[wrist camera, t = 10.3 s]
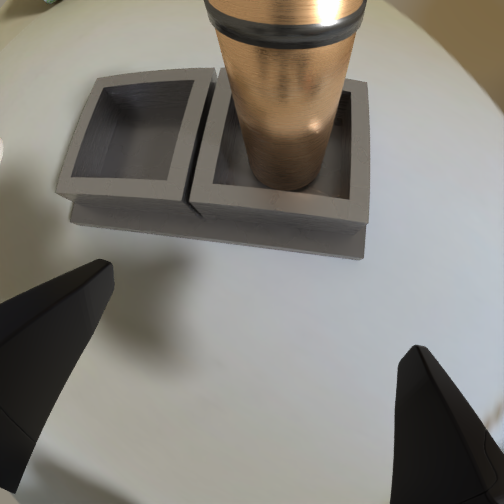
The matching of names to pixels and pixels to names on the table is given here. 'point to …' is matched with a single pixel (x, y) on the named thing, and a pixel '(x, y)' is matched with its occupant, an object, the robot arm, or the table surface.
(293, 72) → the copper tube
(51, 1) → the lunch box
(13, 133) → the table surface
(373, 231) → the table surface
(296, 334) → the table surface
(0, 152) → the astronaut figurine
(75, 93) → the table surface
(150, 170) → the grey two-compartment tray
